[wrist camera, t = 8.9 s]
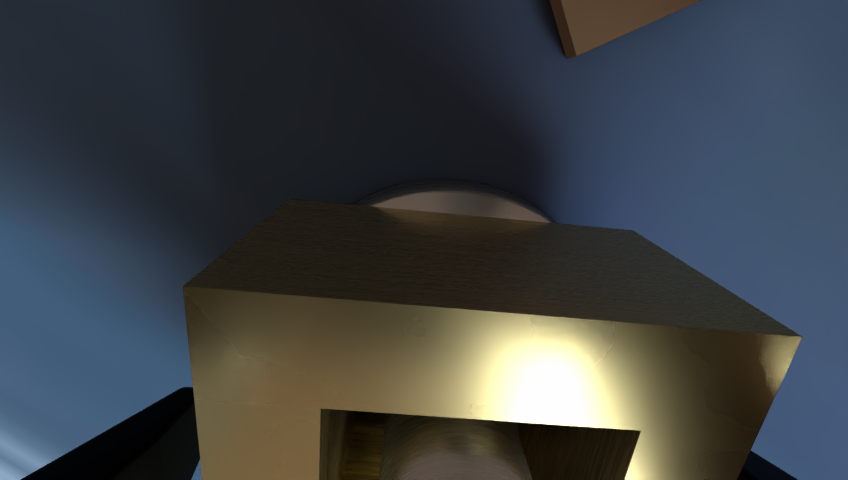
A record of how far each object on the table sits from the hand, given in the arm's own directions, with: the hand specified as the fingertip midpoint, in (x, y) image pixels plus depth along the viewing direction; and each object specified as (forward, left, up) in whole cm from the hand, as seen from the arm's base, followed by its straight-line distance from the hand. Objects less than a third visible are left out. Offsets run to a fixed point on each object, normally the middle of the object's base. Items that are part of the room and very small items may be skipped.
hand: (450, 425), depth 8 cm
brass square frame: (0, 0, -2) cm, 2 cm away
